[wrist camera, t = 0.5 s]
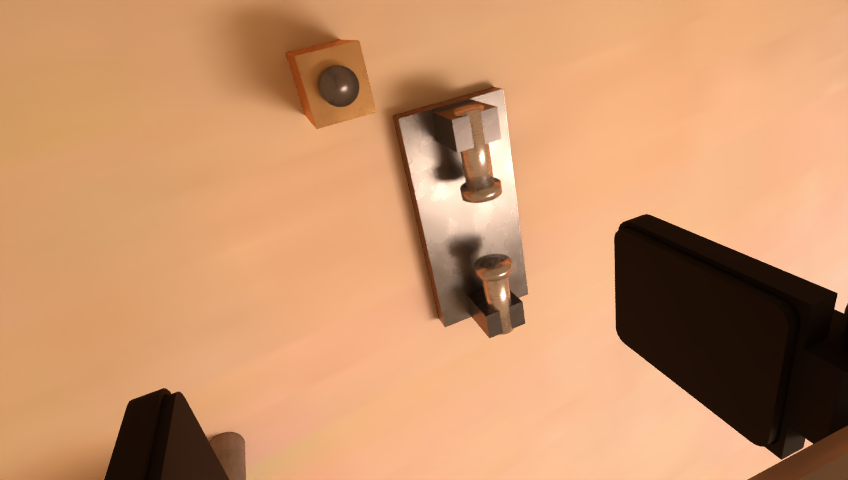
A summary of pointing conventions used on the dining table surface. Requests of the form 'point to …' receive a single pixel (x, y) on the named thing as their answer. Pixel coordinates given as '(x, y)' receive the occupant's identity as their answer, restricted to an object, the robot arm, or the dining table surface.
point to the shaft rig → (467, 208)
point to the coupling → (332, 82)
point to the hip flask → (230, 454)
